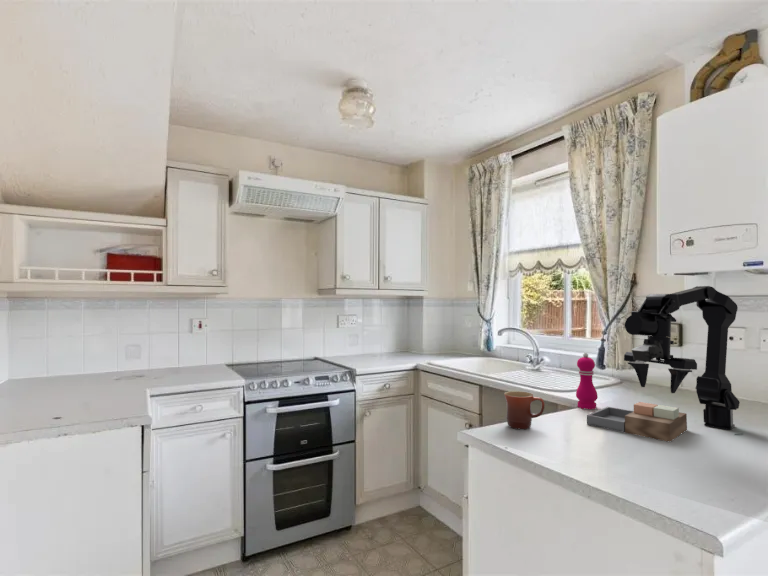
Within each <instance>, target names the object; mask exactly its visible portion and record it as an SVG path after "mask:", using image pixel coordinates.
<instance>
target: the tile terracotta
mask: <svg viewBox="0 0 768 576" xmlns="http://www.w3.org/2000/svg"><path fill="white" fill-rule="evenodd" d="M658 405H659V404H655V403H649V402H648V403H647V402H641V401H638V402H636V403H634V404H633V411H634V413H638V414H644V415H649V416H653V415H654V407H656V406H658Z"/></svg>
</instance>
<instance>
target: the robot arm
mask: <svg viewBox="0 0 768 576" xmlns="http://www.w3.org/2000/svg"><path fill="white" fill-rule="evenodd" d="M692 303H693V304H694V303H695V304H696V307H697V308H699V309H700V311H702V313H701V314H702V318H703V320H704V321H705V323H706V325H707V336H706V337H707V338H706V339H707V340H706V353H705V354H706V356H705V368H704V372H703V373H702V374H701V376H697V377H696V386H695V391H696V395H697V398H698V401H699V404H700V405H705V406H704V407H705V408H704V409H703V410H702V411H703V412H702V413H703V423H704V424H703V425H704V426H705V427H711V428H716V429H717V428H718V429H721V430H723V429H724V430H728V431H731V430H733V428H734V427H736V426H735V425H736V424H734V413H733V412H734V410H735V411H736V410H738V409H739V408H740V402H741V401H740V400H739V399H738V398H737V396H736V395H735V394H734V393H733V391H732V383H731V381H730V380H729V378H728V377H727V375H726V370H727V351H728V335H729V327H731V325H732V324H733V323H734V322H735V321H736V317H737V312H738V303H736V302H735V301H734V300H733V299H732V298H731V297H730V296H729V295H727V294H724V293H722V292H720V291H718V290H717V289H715V287H713V286H710V285H704V286H702V285H700V286H698V285H697V286H694V287H692V288H689V289H684V290H680V291H675V292H673V293H672V292H671V293H656V294H655V293H653V294H652V293H650V294H647V296H646V297H645V299H644V301H643V302H642V304H641V306H640V307H639V308H638V311H635V310H634V311H633V310H632V311H631V312H630V313H631V314H630V315H629V316H628V317H627V318H626V320H625V322H624V328H625V331H626V332H627V333H628V334H629V335H632V336H646V337H647V338H644V339H643V344H641V345H638V346H636V347H633V348H631V351H626V352H625V353H624V355H623V361H625V362H627V365H630V366H631V367H632V368H633V369H634V372H635V373H636V375H637V379H638V381H639V385H640V387H641V388H645V387H646V385H647V378H648V374H649V366H650V364H649V363H653V364H661V365H667V366H670V367H671V368H668V371H669V374H670V393H671V394H675V393H676V392H677V391H678V388H680V385H681V383H682V382H683V380H685V378H686V377H687V375H688V374H690V373H693V370H694V371H696V370H698V363H697V361H696V360H695V359H694V358H686V357H674V355H673V354H671V345H674V344H675V343H674V341H675V340H672V339H671V337H672V323H675V322H677V319H676V318H675V317H674V316H673V315H672V314H673V313H674V312H677V311H679V310H680V307H682V306H686V305H688V304H692ZM647 362H648V363H647Z"/></svg>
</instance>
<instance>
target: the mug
mask: <svg viewBox="0 0 768 576" xmlns="http://www.w3.org/2000/svg"><path fill="white" fill-rule="evenodd" d="M503 395H504V399H505V401H506V423H507V426H508V427H509V428H511V429H514V430H520V429H524V430H528V429H530V428H531V426H532V421H533V419H534V418H535V419H536V418H538V417H540V416H542V414H543V413H544V411H545V406H546V405H545V401H544V399H543V398H541V397H539V396H534V394H533V393H531V392H528V391H521V390H519V391H517V390H511V391H506V392H504V393H503ZM535 401H540V402H541V408H540V411H538V412H537V413H533V412H532V403H533V402H535Z"/></svg>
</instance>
